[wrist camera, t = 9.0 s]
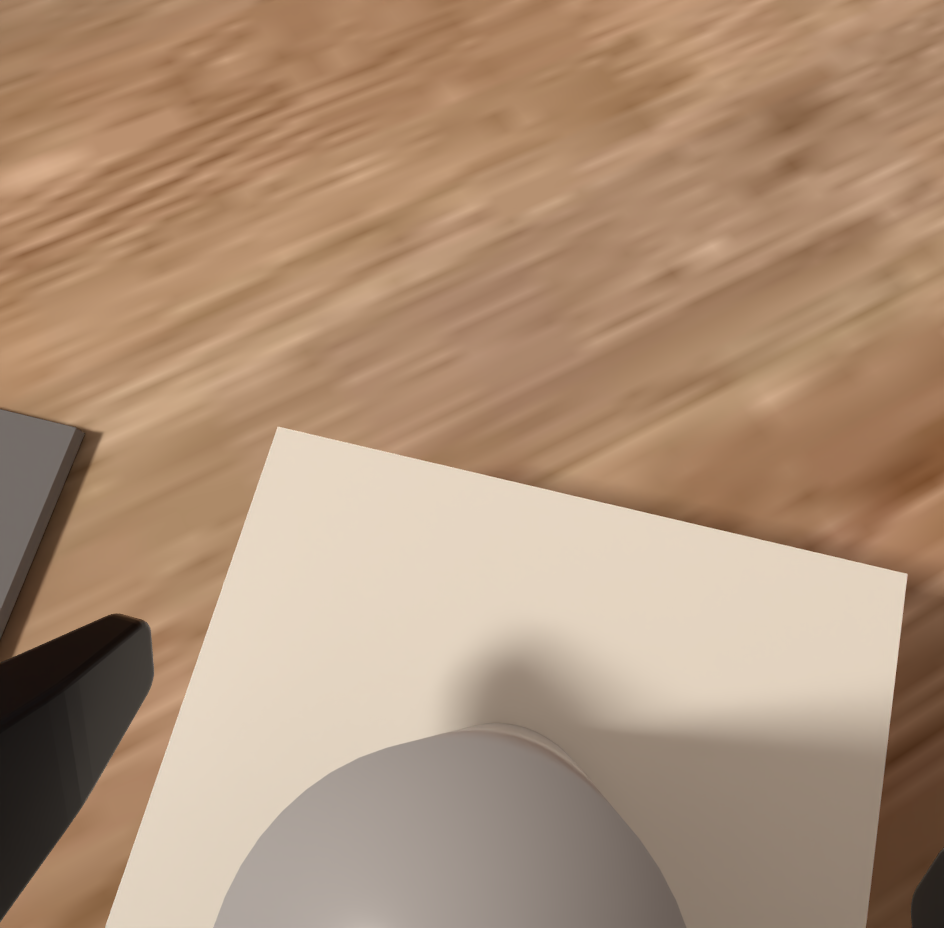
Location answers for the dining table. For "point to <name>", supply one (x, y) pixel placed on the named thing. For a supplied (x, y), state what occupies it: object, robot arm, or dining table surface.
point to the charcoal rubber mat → (28, 493)
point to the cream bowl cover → (516, 716)
